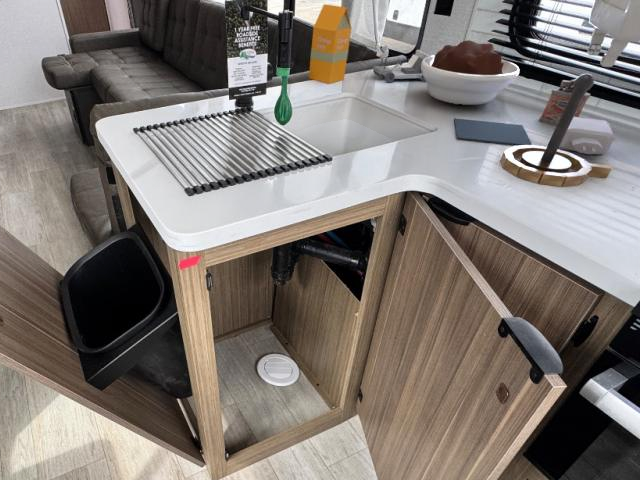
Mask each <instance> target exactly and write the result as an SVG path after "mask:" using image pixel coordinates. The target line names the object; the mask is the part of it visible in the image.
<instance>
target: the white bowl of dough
mask: <svg viewBox="0 0 640 480" xmlns="http://www.w3.org/2000/svg"><path fill="white" fill-rule="evenodd" d="M502 58H503V56H502V55H501V54H500V53H499V52H495V47H494V44H492V43H478V42H476V41H474V40H471V39H468V40H463V41H460V42H459V43H457V45H450V44H446V45H444V46H443V47H442V49H440V50H438V51H437V52H436V53H435V54H432V55H430V56H428V57H426V58H425V59H423V61H422V62H421V71H422V74H423V76H424V78H425V80H426V82H425V83H426V89H427V93H428V94H429V95H430V96H431V97H432V98H434V99H436V100H438V101H441V102H444V103H448V104H452V103H453V105H458V104H462V105H461V106H477V105H484V104H487V103H490V102H491V101H493V100H494V99H496V97H497V96H498V95H499V94H500V92H501V91H502V90H504V89H505V88H507V87H509V86H510V85H511V84H512V83H513V82H514V81H515V80H516V79H517V78H518V76H519V74H520V68H519V66H518V65H517V64H515V63H513V62H512V61H508V60H504V59H502Z"/></svg>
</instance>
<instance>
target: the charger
mask: <svg viewBox="0 0 640 480" xmlns="http://www.w3.org/2000/svg"><path fill="white" fill-rule="evenodd" d="M615 139H616V136H615V134H614V132H613V130H612V128H611V125H610V124H609V122H608V121H606V120H602V119H594V118H587V117H580V116H579V117H573V119H572V121H571V123H570V125H569V128H568V130H567V132H566V134H565V136H564V138H563V140H562V142H561V144H560V146H559V148H560V150H563V151H569V152H578V153H579V154H586V155H605V154H606V153H607V152H608V151H609V150H610V147H611V145H612V144H613V142H614V140H615Z"/></svg>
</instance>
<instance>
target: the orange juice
mask: <svg viewBox="0 0 640 480" xmlns="http://www.w3.org/2000/svg"><path fill="white" fill-rule="evenodd" d="M347 9H348V8H347V7H346V6H339V5H333V4H331V5H330V4H323V5H322V8H321V10H320V12H319V14H318V15H317V18H316V21H315V23H314V25H313V29H312V30H313V31H312V38H311V39H312V42H311V49H310V61H309V70H308V79H309V80H313V81H317V82H321V83H324V84H328V85H329V84H330V85H331V84H335V83H337V82H340V81H344V80H345V75H346V68H347V61H348V56H349V49H350V48H349V47H350V40H351V33H352V26H351V22H350V21H351V20H350V17H349V13H348V10H347Z"/></svg>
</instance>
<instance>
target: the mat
mask: <svg viewBox="0 0 640 480" xmlns="http://www.w3.org/2000/svg"><path fill="white" fill-rule="evenodd" d="M453 123H454V129H455V135H456V136H455V137H456V140H459V141H468V142H477V143H478V142H479V143H486V144H495V145H496V144H497V145H506V146H512V147H513V146H520V145H533V144H532V141H531V139H530V137H529V135H528V133H527V131H526V129H525V127H524V125H523V124H515V123H508V122H507V123H506V122H497V121H486V120H478V119H477V120H476V119H465V118H455V117H454V119H453Z"/></svg>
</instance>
